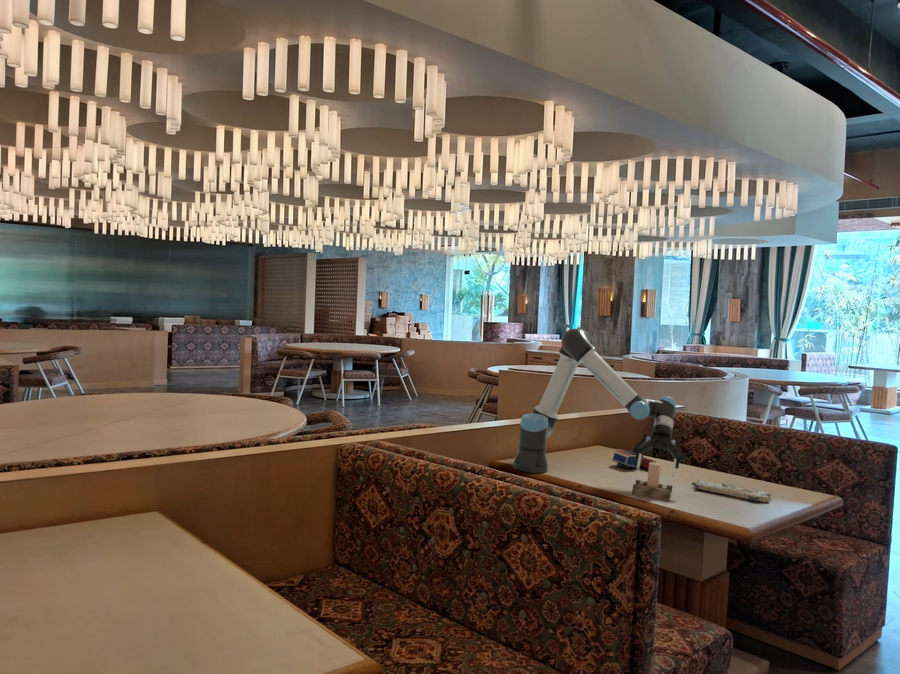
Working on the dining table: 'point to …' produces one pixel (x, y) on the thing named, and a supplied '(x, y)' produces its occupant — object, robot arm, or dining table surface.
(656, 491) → the rack
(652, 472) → the strip
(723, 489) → the grey flat slab
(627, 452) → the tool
